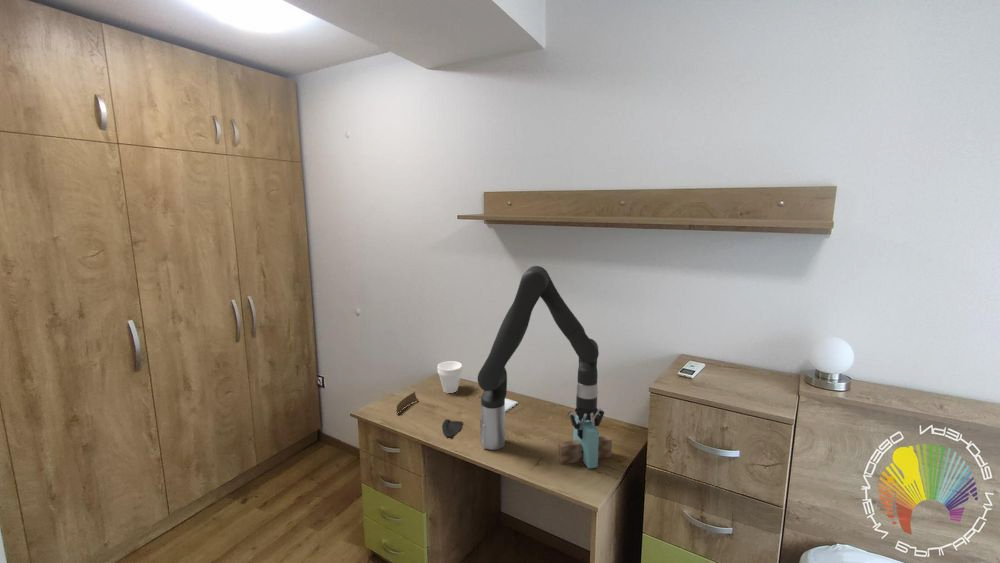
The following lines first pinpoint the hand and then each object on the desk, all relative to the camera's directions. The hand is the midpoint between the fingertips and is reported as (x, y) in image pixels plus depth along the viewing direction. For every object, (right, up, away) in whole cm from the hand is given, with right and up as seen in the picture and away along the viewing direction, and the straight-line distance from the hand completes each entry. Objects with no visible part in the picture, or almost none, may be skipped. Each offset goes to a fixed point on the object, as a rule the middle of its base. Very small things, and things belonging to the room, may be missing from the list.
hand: (585, 436), depth 164 cm
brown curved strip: (-75, -2, +42) cm, 86 cm away
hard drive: (-30, -2, +43) cm, 53 cm away
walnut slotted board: (0, -9, +2) cm, 9 cm away
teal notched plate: (0, -8, +2) cm, 8 cm away
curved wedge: (-53, -5, +23) cm, 58 cm away
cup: (-57, +2, +60) cm, 82 cm away
